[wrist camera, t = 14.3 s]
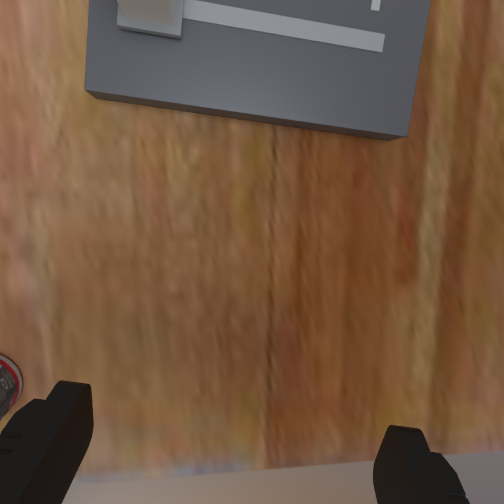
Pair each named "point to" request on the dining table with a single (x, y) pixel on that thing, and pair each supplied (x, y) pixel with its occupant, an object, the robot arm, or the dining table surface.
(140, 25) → the fader tab
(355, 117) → the console
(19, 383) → the pill bottle
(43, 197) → the dining table surface
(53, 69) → the dining table surface
